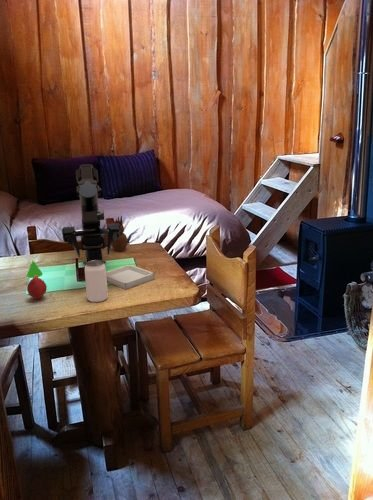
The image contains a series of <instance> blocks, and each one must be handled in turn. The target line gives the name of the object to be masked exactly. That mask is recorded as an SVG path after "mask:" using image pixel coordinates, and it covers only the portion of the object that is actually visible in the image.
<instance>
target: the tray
mask: <svg viewBox="0 0 373 500" xmlns="http://www.w3.org/2000/svg"><path fill="white" fill-rule="evenodd" d="M155 275H156V274H155V272H152V271H149V270H146V269H144V268H141V267H138V266H136V265H132V264H130V263H129V264H127V265H126V264H125V265H123V266H120V267H117V268H113V269H111V270H108V271H107V270H106V278H107V284H108V283H109V284H111V285H114V286H116V287H118V288H120V289H123V290H125V291H126V290H129V289H132V288H134V287H137V286H140V285H144V284H146V283H148V282H151V281H153V280H155V279H156V276H155Z"/></svg>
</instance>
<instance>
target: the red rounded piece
mask: <svg viewBox="0 0 373 500" xmlns="http://www.w3.org/2000/svg"><path fill="white" fill-rule="evenodd" d="M47 289H48V286H47V284H46V281H44V280H43V279H41V278H40V277H38V276H37V275H35V276H34V278H31V279H30V281H29V282H28V284H27V286H26V291H27V293H28V294H29V296H30V297H31V298H33V299H36V300H40V299H41V298H42V297H43V296H44V295H45V294H46V292H47Z"/></svg>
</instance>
